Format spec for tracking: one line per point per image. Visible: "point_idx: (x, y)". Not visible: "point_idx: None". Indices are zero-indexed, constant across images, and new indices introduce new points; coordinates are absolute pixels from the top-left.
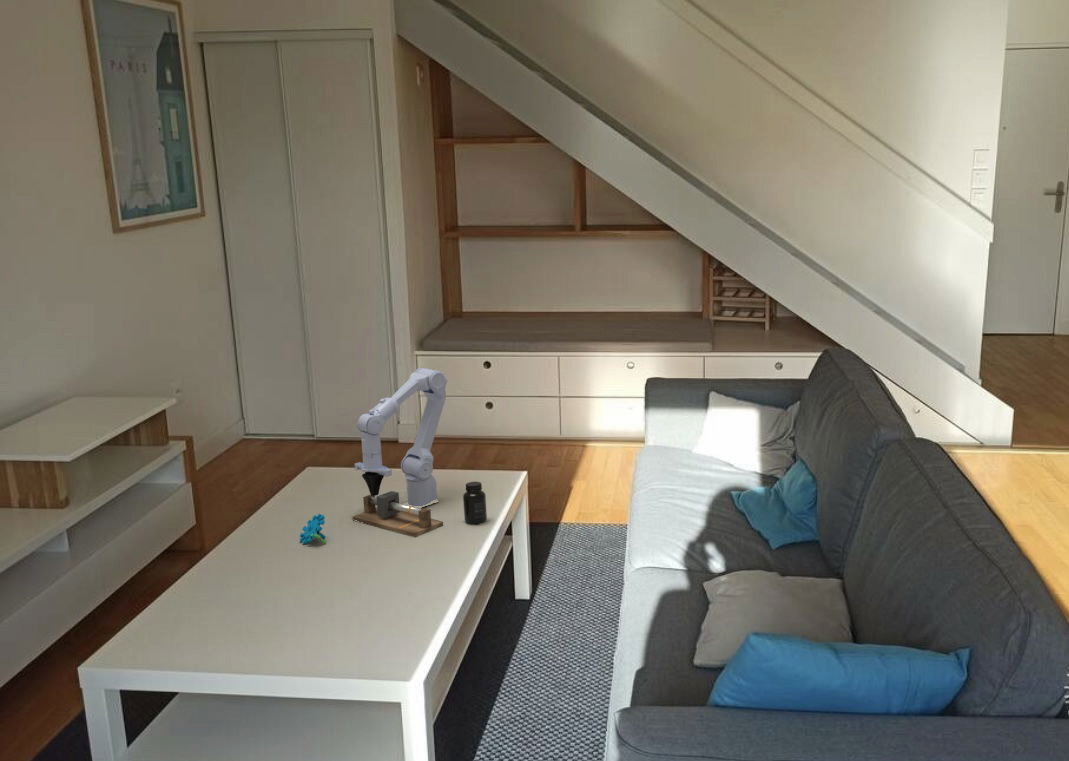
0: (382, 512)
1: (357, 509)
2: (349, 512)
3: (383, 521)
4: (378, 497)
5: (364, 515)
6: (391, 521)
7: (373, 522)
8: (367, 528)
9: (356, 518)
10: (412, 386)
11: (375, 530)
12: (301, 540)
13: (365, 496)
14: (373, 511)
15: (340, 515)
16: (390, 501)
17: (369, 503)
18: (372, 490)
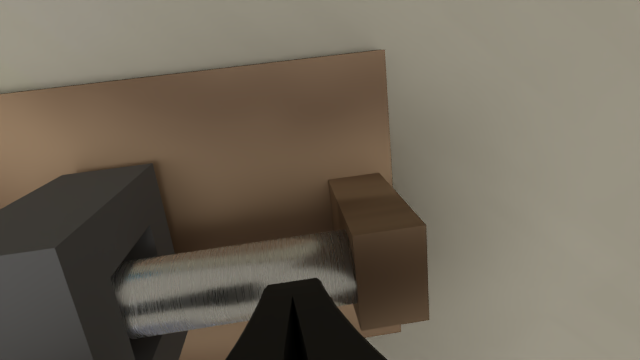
0: (62, 187)
1: (528, 215)
2: (532, 142)
3: (64, 150)
4: (15, 251)
5: (322, 134)
6: (17, 195)
7: (111, 81)
8: (108, 7)
9: (332, 56)
10: None
11: (9, 21)
12: None
13: (421, 253)
14: (334, 229)
15: (542, 57)
16: None
17: (343, 228)
18: (259, 322)
